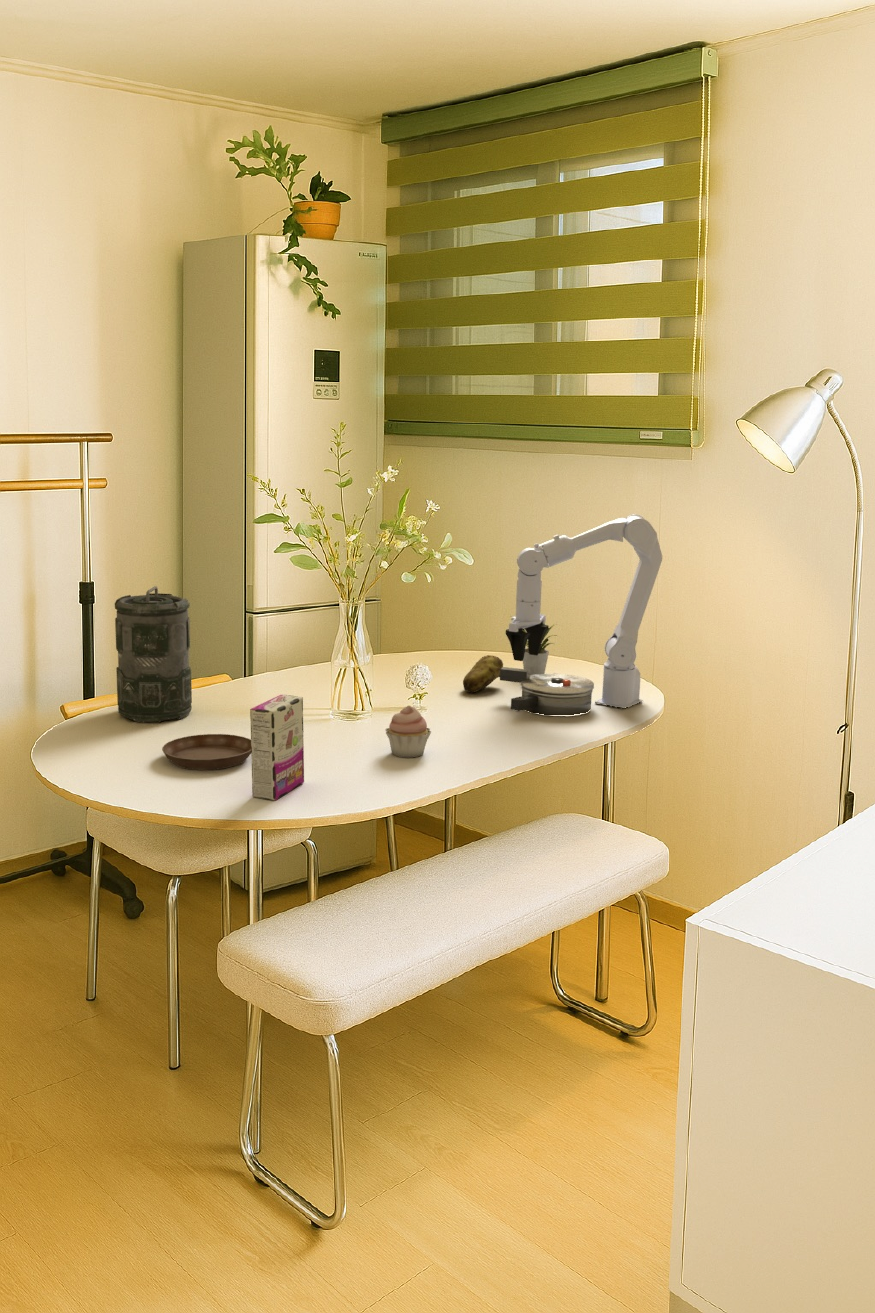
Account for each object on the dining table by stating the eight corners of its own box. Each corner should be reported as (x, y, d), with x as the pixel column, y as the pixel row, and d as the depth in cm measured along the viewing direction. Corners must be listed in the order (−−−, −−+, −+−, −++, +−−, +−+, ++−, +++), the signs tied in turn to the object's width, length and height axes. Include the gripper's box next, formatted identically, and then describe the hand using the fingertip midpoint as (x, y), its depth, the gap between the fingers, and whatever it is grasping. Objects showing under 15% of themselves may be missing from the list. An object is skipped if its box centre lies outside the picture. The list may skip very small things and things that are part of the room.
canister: (184, 724, 255) (181, 595, 249) (109, 723, 255) (105, 593, 249) (198, 705, 270) (195, 583, 264) (128, 704, 270) (124, 581, 264)
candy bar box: (280, 779, 220) (280, 693, 217) (304, 783, 219) (304, 696, 215) (249, 797, 210) (248, 707, 207) (274, 801, 209) (274, 711, 205)
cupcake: (380, 759, 234) (381, 709, 232) (388, 745, 243) (389, 698, 241) (427, 762, 233) (428, 712, 231) (434, 748, 242) (435, 700, 240)
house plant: (498, 667, 316) (500, 606, 312) (549, 666, 318) (551, 606, 315) (511, 680, 302) (513, 616, 299) (564, 679, 305) (567, 616, 301)
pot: (552, 695, 288) (553, 675, 287) (605, 709, 276) (607, 688, 275) (488, 710, 272) (488, 689, 271) (541, 725, 261) (542, 703, 260)
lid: (601, 681, 280) (602, 670, 279) (583, 697, 265) (584, 685, 264) (512, 672, 288) (512, 661, 287) (489, 686, 272) (490, 675, 272)
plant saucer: (144, 759, 231) (143, 744, 230) (218, 742, 244) (218, 727, 243) (199, 780, 219) (199, 764, 219) (274, 761, 232) (273, 746, 232)
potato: (449, 689, 291) (450, 657, 290) (490, 682, 299) (492, 651, 297) (470, 696, 285) (471, 663, 283) (512, 689, 292) (513, 657, 291)
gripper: (527, 594, 285) (525, 650, 288) (498, 602, 273) (496, 660, 276) (554, 597, 281) (551, 654, 284) (525, 605, 269) (523, 664, 272)
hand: (526, 657), depth 280 cm, fingers open, 7 cm apart
